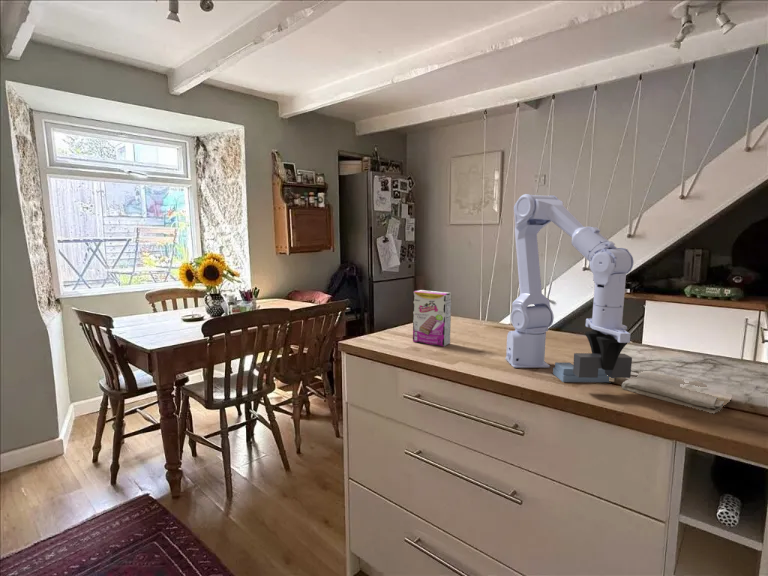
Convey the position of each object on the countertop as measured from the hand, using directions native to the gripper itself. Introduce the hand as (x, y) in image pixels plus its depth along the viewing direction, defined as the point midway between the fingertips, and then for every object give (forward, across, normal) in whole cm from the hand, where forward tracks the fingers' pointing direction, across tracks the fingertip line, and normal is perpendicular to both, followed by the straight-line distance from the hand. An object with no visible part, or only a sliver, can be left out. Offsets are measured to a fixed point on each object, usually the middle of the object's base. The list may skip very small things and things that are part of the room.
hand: (603, 366), depth 91 cm
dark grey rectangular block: (+2, 0, 0) cm, 2 cm away
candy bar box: (+6, +41, +33) cm, 53 cm away
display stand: (+6, +9, 0) cm, 11 cm away
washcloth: (+6, -1, -15) cm, 16 cm away
